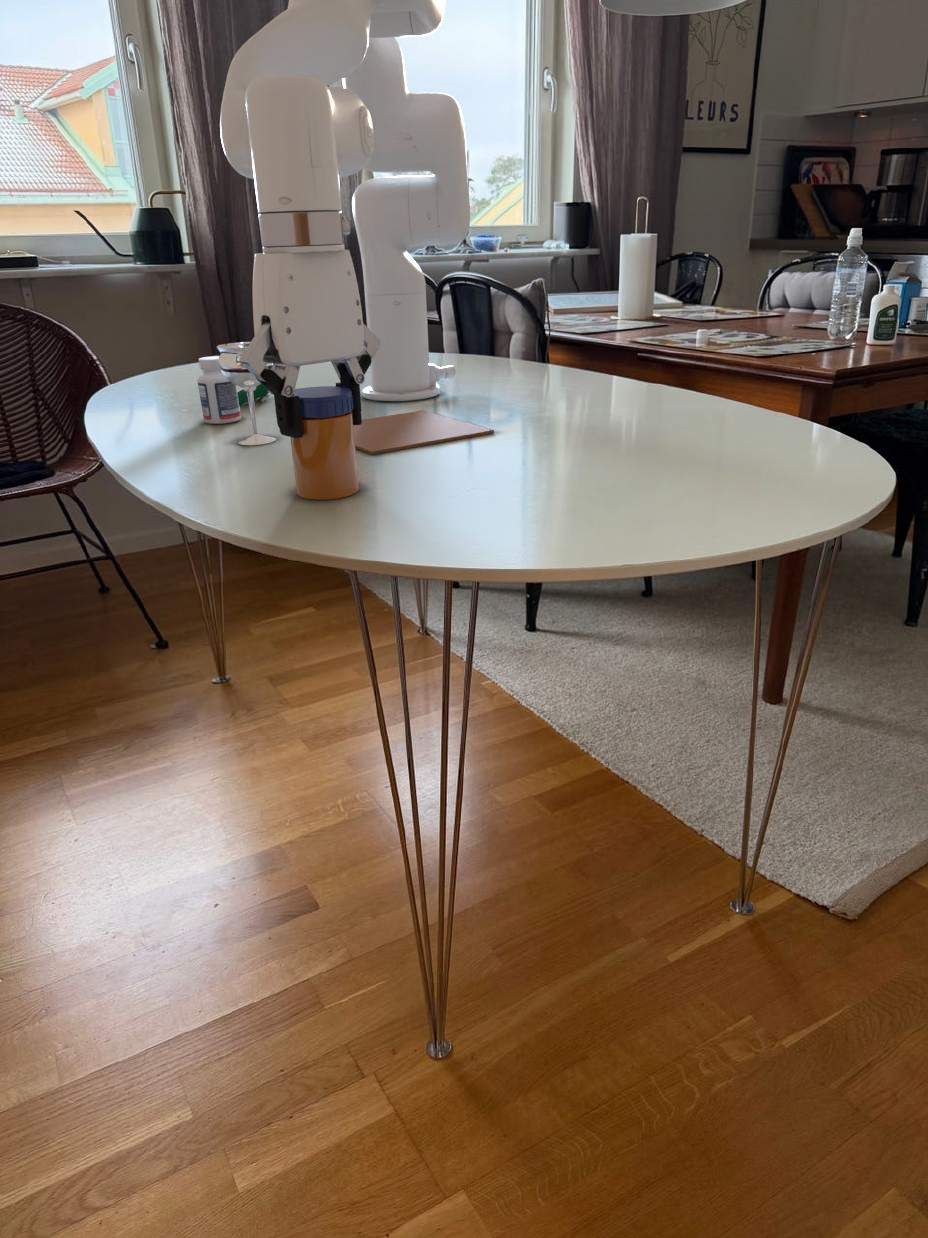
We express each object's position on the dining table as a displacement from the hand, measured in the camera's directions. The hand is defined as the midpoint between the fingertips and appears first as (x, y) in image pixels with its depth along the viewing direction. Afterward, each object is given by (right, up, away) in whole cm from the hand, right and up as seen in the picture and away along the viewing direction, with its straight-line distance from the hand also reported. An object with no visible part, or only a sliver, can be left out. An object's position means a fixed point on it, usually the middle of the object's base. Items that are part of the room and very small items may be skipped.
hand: (321, 428), depth 86 cm
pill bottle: (-21, +9, +38) cm, 45 cm away
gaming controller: (-19, +16, +53) cm, 58 cm away
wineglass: (-13, +4, +26) cm, 29 cm away
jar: (0, -6, +3) cm, 7 cm away
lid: (0, +3, -1) cm, 3 cm away
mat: (+6, +6, +28) cm, 29 cm away
